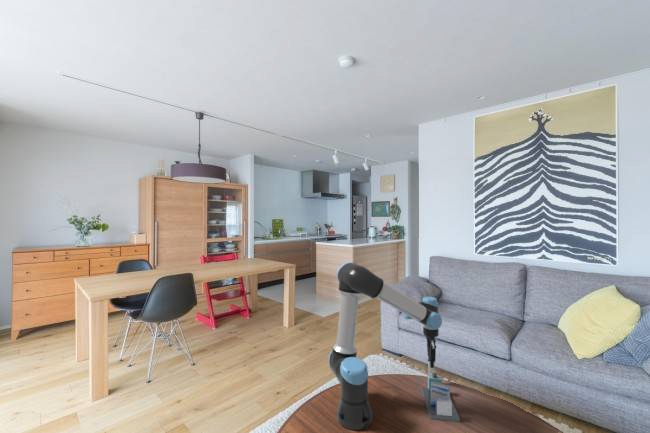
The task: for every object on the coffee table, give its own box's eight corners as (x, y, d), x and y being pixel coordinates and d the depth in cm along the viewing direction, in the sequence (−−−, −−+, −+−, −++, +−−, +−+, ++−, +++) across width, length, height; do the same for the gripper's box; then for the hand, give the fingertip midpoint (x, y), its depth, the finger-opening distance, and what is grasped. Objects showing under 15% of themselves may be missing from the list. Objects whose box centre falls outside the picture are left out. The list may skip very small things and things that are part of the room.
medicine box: (430, 404, 131) (430, 385, 131) (431, 399, 135) (431, 380, 135) (449, 409, 127) (449, 389, 127) (450, 404, 131) (449, 384, 131)
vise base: (430, 418, 124) (429, 401, 124) (421, 390, 144) (421, 375, 145) (459, 421, 122) (459, 403, 122) (447, 392, 142) (446, 377, 143)
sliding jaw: (429, 390, 141) (428, 374, 142) (427, 387, 144) (427, 371, 145) (441, 391, 140) (441, 375, 141) (440, 388, 143) (440, 372, 144)
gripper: (441, 332, 144) (442, 380, 144) (435, 323, 157) (436, 366, 157) (425, 331, 146) (426, 378, 145) (421, 322, 158) (422, 366, 158)
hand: (431, 372), depth 151 cm, fingers closed
